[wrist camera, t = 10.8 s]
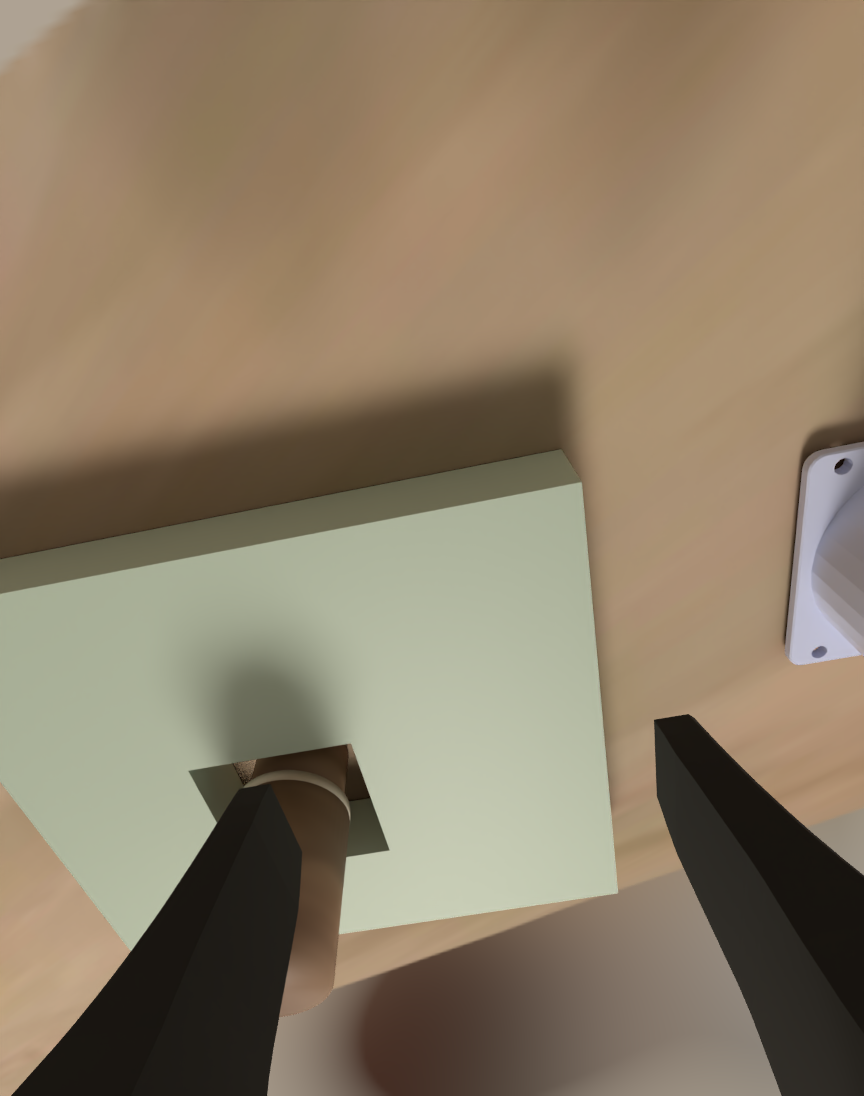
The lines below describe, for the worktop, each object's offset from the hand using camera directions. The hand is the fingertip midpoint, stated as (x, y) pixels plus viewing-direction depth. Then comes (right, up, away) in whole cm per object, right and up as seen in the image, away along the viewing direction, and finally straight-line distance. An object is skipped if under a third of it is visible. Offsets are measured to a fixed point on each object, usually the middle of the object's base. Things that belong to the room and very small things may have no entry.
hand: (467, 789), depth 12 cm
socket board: (-5, -2, +12) cm, 13 cm away
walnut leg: (-6, -3, +12) cm, 14 cm away
